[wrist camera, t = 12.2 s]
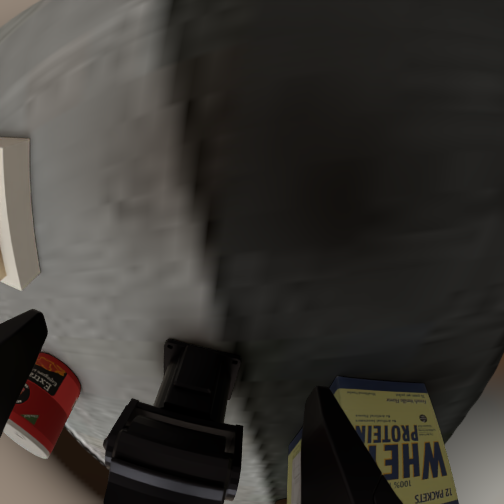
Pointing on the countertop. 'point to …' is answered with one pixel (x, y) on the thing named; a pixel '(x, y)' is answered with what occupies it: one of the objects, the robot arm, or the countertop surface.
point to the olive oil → (281, 501)
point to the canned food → (43, 406)
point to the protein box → (391, 439)
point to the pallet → (2, 267)
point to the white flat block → (17, 214)
